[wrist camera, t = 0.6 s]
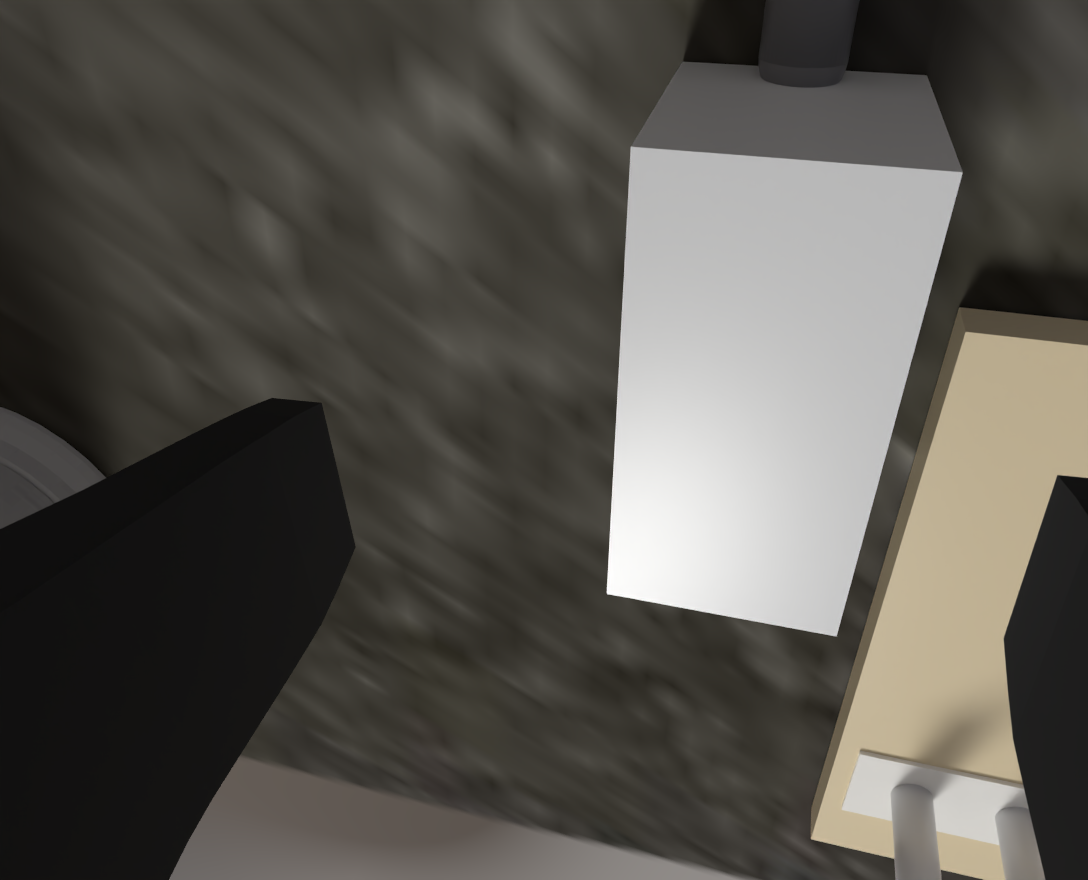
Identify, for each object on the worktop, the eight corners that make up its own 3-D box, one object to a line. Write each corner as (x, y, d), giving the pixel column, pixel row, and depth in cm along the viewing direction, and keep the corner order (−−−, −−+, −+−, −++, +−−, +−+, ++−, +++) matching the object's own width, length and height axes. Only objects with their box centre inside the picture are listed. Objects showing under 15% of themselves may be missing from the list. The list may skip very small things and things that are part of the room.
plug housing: (1045, -433, 11) (1164, -571, 7) (834, 471, 19) (835, 641, 15) (722, -415, 12) (667, -530, 8) (650, 443, 20) (606, 598, 16)
